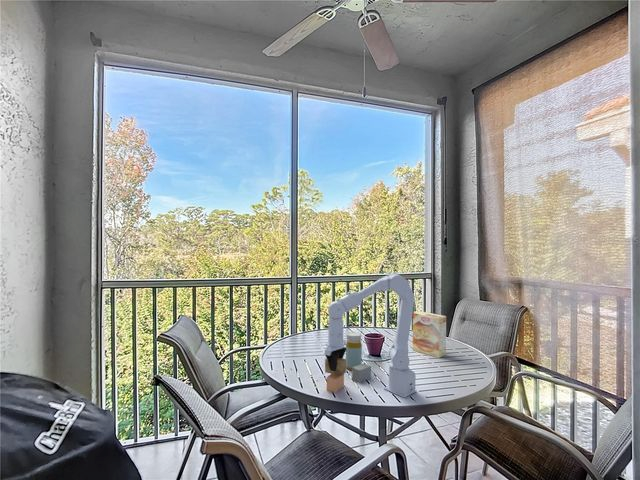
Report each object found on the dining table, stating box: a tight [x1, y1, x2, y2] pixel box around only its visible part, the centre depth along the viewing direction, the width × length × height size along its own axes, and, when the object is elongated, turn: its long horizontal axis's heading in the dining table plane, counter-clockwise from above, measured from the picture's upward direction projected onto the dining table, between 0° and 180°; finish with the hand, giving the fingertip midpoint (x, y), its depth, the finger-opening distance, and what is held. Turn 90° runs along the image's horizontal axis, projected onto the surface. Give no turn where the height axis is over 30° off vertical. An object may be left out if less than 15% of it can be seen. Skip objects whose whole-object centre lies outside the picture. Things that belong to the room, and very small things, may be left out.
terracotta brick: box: [326, 373, 345, 393], centre depth 130 cm, size 7×4×5 cm, turn 152°
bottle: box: [345, 331, 363, 371], centre depth 150 cm, size 7×7×15 cm
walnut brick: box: [324, 358, 347, 376], centre depth 130 cm, size 7×4×5 cm, turn 62°
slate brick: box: [351, 363, 372, 383], centre depth 139 cm, size 7×4×5 cm, turn 131°
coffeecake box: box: [412, 310, 447, 358], centre depth 171 cm, size 15×7×20 cm, turn 42°
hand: (335, 368), depth 130 cm, fingers closed on walnut brick, 4 cm apart
